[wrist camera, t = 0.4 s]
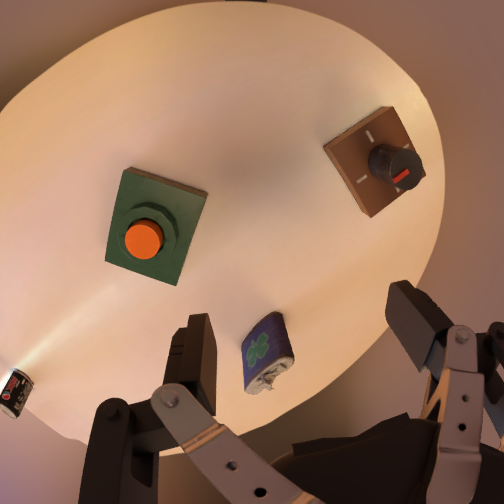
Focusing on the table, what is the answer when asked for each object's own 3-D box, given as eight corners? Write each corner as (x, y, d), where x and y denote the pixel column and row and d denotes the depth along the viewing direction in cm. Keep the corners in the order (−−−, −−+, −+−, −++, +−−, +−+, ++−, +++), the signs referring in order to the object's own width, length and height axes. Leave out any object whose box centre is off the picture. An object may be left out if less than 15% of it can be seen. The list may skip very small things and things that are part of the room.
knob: (388, 137, 27) (414, 141, 23) (404, 168, 29) (429, 177, 24) (361, 156, 28) (384, 163, 23) (378, 187, 30) (402, 199, 25)
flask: (250, 353, 43) (256, 407, 33) (235, 346, 42) (237, 401, 32) (287, 315, 40) (302, 370, 30) (271, 307, 39) (283, 362, 29)
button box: (129, 167, 29) (117, 172, 26) (208, 193, 32) (204, 202, 28) (110, 253, 34) (98, 267, 30) (178, 277, 36) (173, 294, 32)
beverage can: (11, 370, 45) (-7, 403, 34) (19, 366, 44) (0, 401, 33) (28, 387, 48) (12, 420, 37) (37, 384, 47) (21, 420, 36)
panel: (382, 106, 28) (393, 106, 26) (415, 171, 32) (427, 175, 29) (322, 147, 30) (330, 149, 28) (362, 212, 34) (371, 218, 31)
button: (134, 214, 28) (128, 219, 27) (167, 225, 29) (163, 231, 28) (126, 245, 30) (121, 252, 28) (158, 257, 31) (154, 264, 29)
